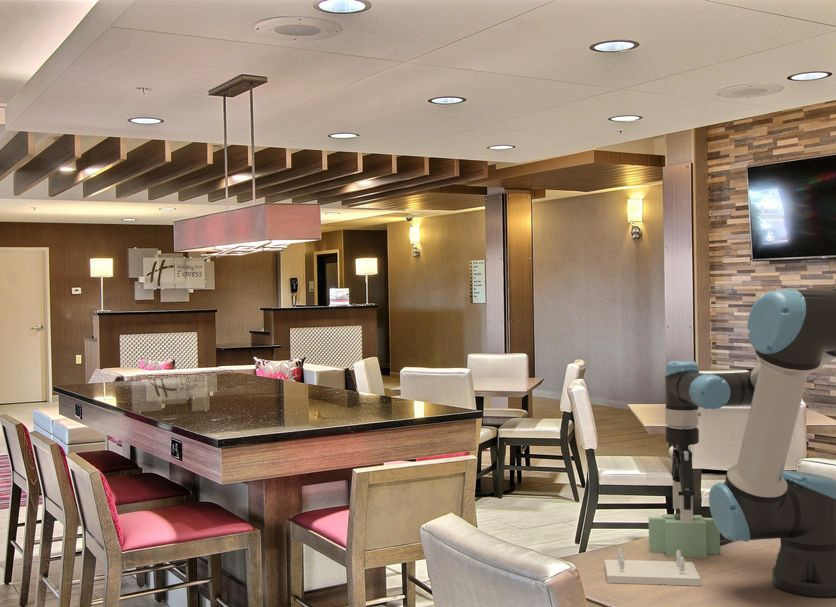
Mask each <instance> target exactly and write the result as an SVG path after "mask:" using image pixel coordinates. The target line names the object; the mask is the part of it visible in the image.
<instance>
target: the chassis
mask: <svg viewBox="0 0 836 607" xmlns="http://www.w3.org/2000/svg"><path fill="white" fill-rule="evenodd" d="M623 554H624V553H623V549H622V548H618V550H617V559H604V569H605V570H604V571H605V576H606V581H607V583H608V584H631V585H632V584H633V585H658V584H659V585H660V584H661V585H663V586H665V585H666V586H687V585H688V586H689V585H690V586H694V587H701V585H702V584H701V577H700V575H699V573H698V571H697V569H696V567H695V565H694V563H693V562H692V561H685V557H681V551H680V550H677V552H676V560H675V561H672V560H670V561H669V560H665V561H664V560H640V559H639V560H636V559H634V560H632V559H625V555H623ZM664 584H665V585H664ZM659 585H658V586H659Z"/></svg>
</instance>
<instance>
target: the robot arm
mask: <svg viewBox="0 0 836 607" xmlns="http://www.w3.org/2000/svg"><path fill="white" fill-rule="evenodd" d="M747 318H748V319H747V327H746V328H747V330H748V333H747V336H748V341H749V343H750V345H751V346H752V348H753V349H754V354H755V356H756V357H757V358H758V360H759V361H760V363H759V364H758V365H756V366H755V367H753V368H752V369H750V370H749V371H744V372H740V371H739V372H716V373H715V372H713V373H712V372H711V373H707V372H706V373H705V372H704V373H703V372H700V370H699V364H698V363H697V362H696V361H693V360H692V361H691V360H671V361H668V362H667V363H666V364H665V376H664V386H665V387H664V390H665V396H664V397H665V409H664V410H665V413H664V415H665V416H664V417H665V418H664V419H665V424H666V428H665V442H667V443H668V444H671V445H672V447H673V448H672V462H671V464H672V465H671V466H672V467H671V473H670V475H671V478H672V509H676V510H677V509H679V512H680V513H679V514H680V523H686V524H693V515H694V495H695V494H696V492H695V487H694V472H693V452H692V451H691V449H690V446H693V445H697V444H699V442H700V440H699V438H700V431H699V430H700V429H699V428H698V427H697V426H699V418H698V417H701V416H702V413H701V412H699V408H702V409H706V410H708V409H709V410H718V409H720V408H722V407H736V406H750V408H749V412H748V415H747V416H748V417H747V421H746V425H745V429H744V434H743V437H742V442H741V447H740V451H739V456H738V458H737V463H735V464H733V465H731V466H730V467H729V468H728V469H727V472H726V475H725V481H724V482H717V483H715V484H713V485H712V486H711V488H710V490H709V497H708V504H709V505H708V506H709V511H710V514H711V518H713V521H714V523H715V525H716V527H717V529H718V530H719V532H720V533H721V534H722V535H723V536H724V537H725V538H727V539H728V540H732V541H735V542H739V541H740V542H741V541H742V542H745V543H746V542H750V541H757V540H759V541H760V540H773V539H780V546H779V550H778V554H777V556H776V560H775V565H774V566H773V567H772V570H771V582H772V584H773V585H774V586H775V587H776V588H777V589H778V588H779V589H780V590H782V591H786V592H788V593H792V594H796V595H799V596H800V595H801V596H805V597H806V596H808V597H815V598H833V597H835V598H836V479H834V478H831V477H829V476H825V475H821V474H816V473H811V472H805V471H795V470H785V466H786V461H787V458H788V454H789V452H790V446H791V443H792V438H793V436H794V431H795V428H796V423H797V418H798V416H799V411H800V408H801V405H802V401H803V400H802V399H803V396H804V392H805V388H806V385H807V381H808V377H809V375H811V374H813V372H815V371H817V370H819V369H820V368H822V367H824V366H825V365H827V364H828V363H830V362H832V361H833V360H835V359H836V288H831V289H830V288H827V289H824V288H823V289H822V288H820V289H819V288H817V289H815V288H814V289H794V288H784V289H780V290H779V289H778V290H771V291H767V292H765V293H764V294H762V295H760V296H759V297H758V298H757V299H756V300H755V301H754V304H753V305H752V307H751V310H750V311H749V314H748V317H747Z"/></svg>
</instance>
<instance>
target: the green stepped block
mask: <svg viewBox="0 0 836 607" xmlns="http://www.w3.org/2000/svg"><path fill="white" fill-rule="evenodd" d="M677 550H680V551H681V557H684V558H707V557H708V555H721V546H720V532H719V530H718V529H717V527H716V525H715V523H714V521H713V518H712V517H711V518H710V517H709V518H708V517H706V518H705V517H703V516H702V514H693V524H686V523H680V513H674V514H669V513H668V514H667V513H666V514H663V513H662V514H661V517H660V516H659V517H658V516H648V551H649V553H656V552H665V553H666V554H665V553H664V554H665V556H666V557H671V556H676V552H677Z"/></svg>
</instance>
